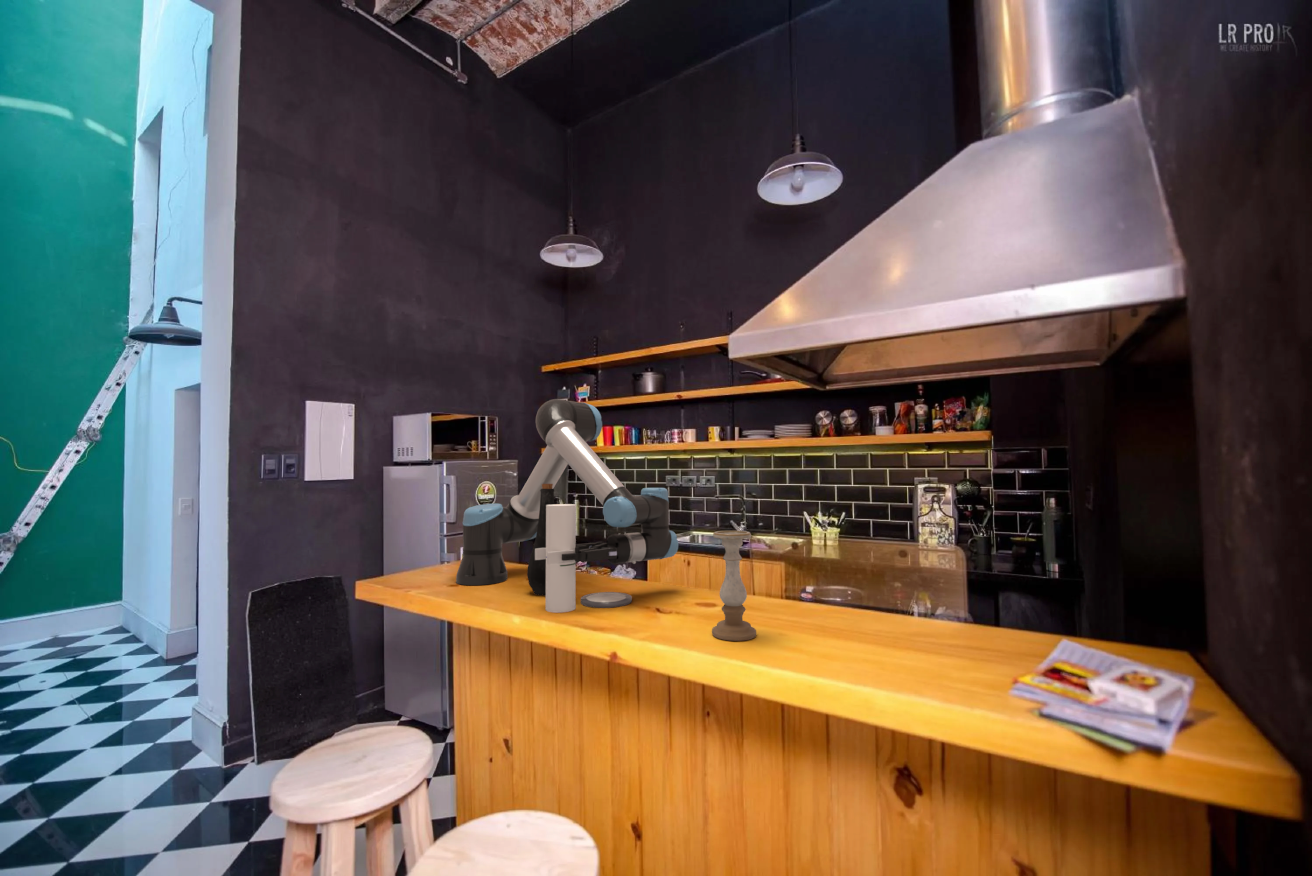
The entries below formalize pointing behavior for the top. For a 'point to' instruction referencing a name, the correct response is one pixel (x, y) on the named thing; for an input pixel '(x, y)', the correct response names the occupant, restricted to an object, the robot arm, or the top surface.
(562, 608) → the cylindrical container
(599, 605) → the base plate
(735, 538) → the candle holder
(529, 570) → the bottle
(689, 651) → the top surface
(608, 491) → the robot arm
